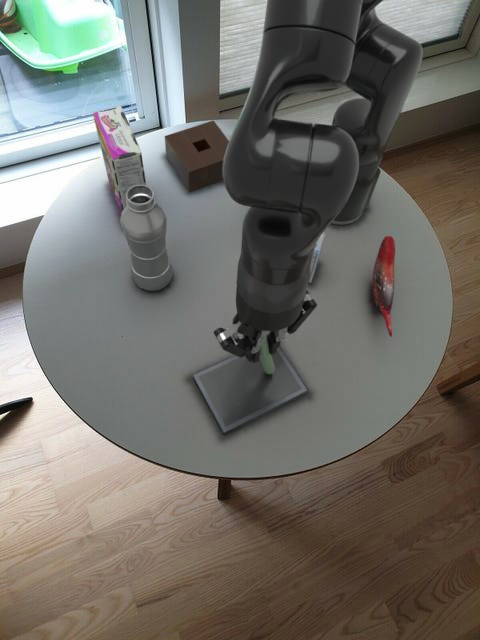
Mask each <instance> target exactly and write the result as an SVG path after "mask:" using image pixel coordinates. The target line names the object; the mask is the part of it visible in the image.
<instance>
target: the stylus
mask: <svg viewBox="0 0 480 640" xmlns="http://www.w3.org/2000/svg"><path fill="white" fill-rule="evenodd" d="M260 359H261V362H262V365H263V368H264V371H265V372H266V373H267V374H272V373H274V371H275V366H274V362H273V359H272V355H271V354H270V351H269V345H268V342H267V338H266V341H265V344H263V345H261V347H260Z"/></svg>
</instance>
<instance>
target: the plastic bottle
mask: <svg viewBox="0 0 480 640" xmlns="http://www.w3.org/2000/svg"><path fill="white" fill-rule="evenodd" d="M126 199H127V200H126V204H127V206H126V207H125V208H124V210H123V211H122V214H121V213H120V220H119V224H120V227H121V231H122V232H123V235H124V237H125V239H126V242H127V244H128V245H127V246H128V248H129V251H130V261H131V262H130V276H131V277H132V279H133V281H134V283H135V284H136V286H137V287H138V288H141V289H143V290H145V291H149V292H155V291H160V290H162V289H163V288H165V287H167V286H168V285H169V283H170V282H171V280H172V277H173V265H172V263H171V259H170V258H169V255H168V251H167V247H166V245H167V244H166V243H167V242H166V236H167V235H166V234H167V226H168V225H167V221H168V220H167V216H166V213H165V212H164V209H162V207H161V206H160V205H159V204H157V203H156V198H155V193H154V190H153V189H152V188H151V187H150V186H148V185H146V186H145V185H135V186H133V187H131V188H129V189H128V191H127V193H126Z"/></svg>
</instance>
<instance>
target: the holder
mask: <svg viewBox="0 0 480 640" xmlns="http://www.w3.org/2000/svg"><path fill="white" fill-rule="evenodd" d="M229 140H230V139H228V138H227V136H226V135H225V134H224V132H223V130H221V128H220V127H219V126H218V124H217V123H216V121H215V120H211V121H208V122H205V123H204V122H203V123H201V124H198V125H195V126H192V127H189V128H185V129H182V130H178V131H175V132H173V133H170V134H166V135H164V145H165V146H164V147H165V158H167V160H168V162H169V163H170V165H171V166H172V168H173V170H174V171H175V172H176V174H177V175H178V177H179V179H180V180H181V181H182V183H183V185H184V186H185V187H186V189H187V191H188V192H189V193H191V192H193V191H196V190H199V189H202V188H205V187H208V186H210V185H213V184H216V183H219V182H222V181H223V175H222V165H223V159H224V154H225V151H226V148H227V145H228V143H229Z"/></svg>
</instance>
